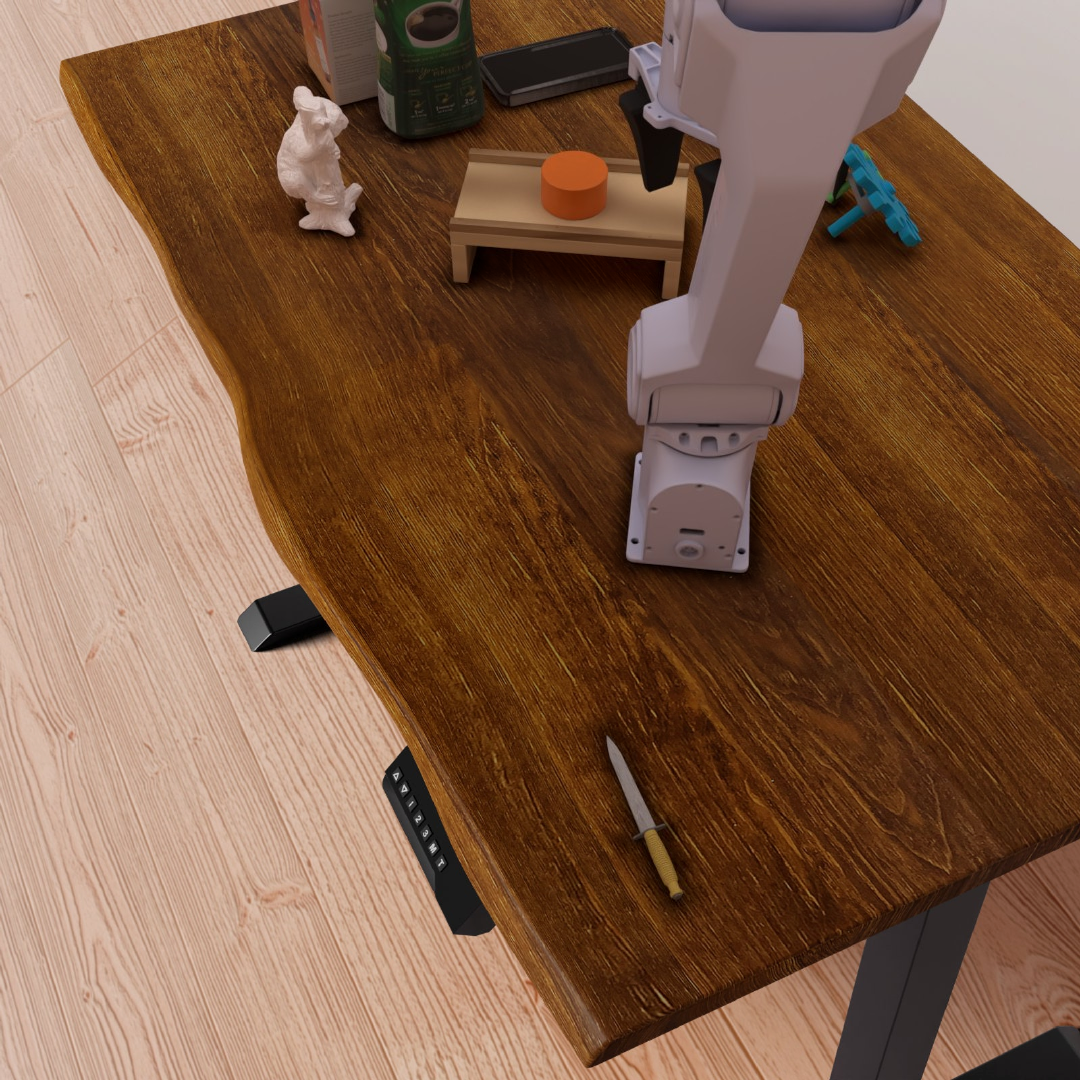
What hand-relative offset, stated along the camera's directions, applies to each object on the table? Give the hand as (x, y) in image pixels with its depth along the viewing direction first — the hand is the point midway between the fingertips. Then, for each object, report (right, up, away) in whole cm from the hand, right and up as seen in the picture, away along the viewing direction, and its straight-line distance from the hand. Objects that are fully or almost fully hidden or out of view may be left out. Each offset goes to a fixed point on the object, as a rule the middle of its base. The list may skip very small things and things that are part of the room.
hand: (687, 214), depth 82 cm
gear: (+17, +3, +16) cm, 23 cm away
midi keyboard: (+9, +11, +22) cm, 26 cm away
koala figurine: (-29, +4, +17) cm, 33 cm away
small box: (-29, +21, +30) cm, 46 cm away
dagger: (-5, -39, -16) cm, 42 cm away
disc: (-8, +4, +10) cm, 13 cm away
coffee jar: (-21, +16, +26) cm, 37 cm away
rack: (-8, +1, +14) cm, 16 cm away
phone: (-9, +22, +30) cm, 39 cm away
